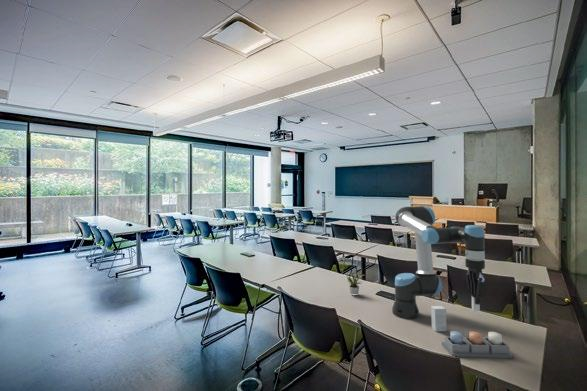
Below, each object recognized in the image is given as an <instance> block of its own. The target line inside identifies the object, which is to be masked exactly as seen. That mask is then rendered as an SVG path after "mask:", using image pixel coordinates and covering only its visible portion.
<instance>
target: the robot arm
mask: <svg viewBox="0 0 587 391" xmlns="http://www.w3.org/2000/svg"><path fill="white" fill-rule="evenodd" d="M435 214H436V213H435V211H434V210H433V209H432V208H431V207H429V206H423V205H421V206H404V207H401V208H399V209H398V210H397V211H396V213H395V221H396V223H397V224H398V225H399V226H401V227H404V228H407V229H409V230H411V231H412V232H414V238H415V250H416V253H415V254H416V261H417V262H416V263H417V270H416V271H415V274H414V273H411V272H403V273H398V274H397V275H396V276H394V303H393V305H392V307H391V309H392V310H391V311H392V312H391V313H392V314H393V315H395V316H396V317H399V318H402V319H409V320H410V319H412V320H413V319H417V318H419V316H420V310H419V307H418V304H417V301H416V300H417V297H427V296H429V297H432V296H438V295H439V294H440V293H441V292H442V289H443V282H442V280H441V277H440V276H439V275H438V274H437V272H436V271H435V270H434V263H433V261H434V260H433V253H432V252H433V251H432V245H435V244H437V245H438V244H463V245H465V248H464V249H465V252H464V254H465V267H466V268H468V269H467V270H464V272H465V276H466V283H467V290H468V293H470V296H471V310H472V311H473V312H480V309H481V307H480V306H481V305H480V302H481V301H480V300H481V299H480V298H483V297H484V294H485V286H486V281H487V277H484V275H483V270H484V269H485V268H486V261H485V259H486V255H485V254H486V252H485V246H486V245H485V244H486V243H485V238H486V237H485V236H486V234H485V228H484V226H482V225H476V224H467V225H465V226H464V227H462V226H461V227H460V226H451V227H436V226H434V224H435V223H436V222H435V221H436V215H435Z"/></svg>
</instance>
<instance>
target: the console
mask: <svg viewBox="0 0 587 391" xmlns="http://www.w3.org/2000/svg"><path fill="white" fill-rule="evenodd" d="M441 346H442V347H443V348H444V349H445V350H446V351H447V352H448V354H449V355H450V356H451V355H452V356H458V358H459V357H462V358H492V359H493V358H496V359H497V358H499V359H501V358H502V359H505V358H506V359H513V358H514V355H513V354H512V353H511V352H510V346H509V345H508V344H507V343H506V342H504V340H502V345H495V344H492V343H490V342H489V341H488V336H486V337H485V336H484V337H483V344H481V345H477V344H473V343H471V342H470V341H469V336H463V344H455V343H453V342H451V341H450V336H444V341H441ZM452 356H451V357H452Z"/></svg>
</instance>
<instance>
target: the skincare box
mask: <svg viewBox="0 0 587 391" xmlns="http://www.w3.org/2000/svg"><path fill="white" fill-rule="evenodd" d="M430 311H431V329H432V330H433V331H434V332H436V333H437V332H447V308H445V307H444V306H443V305H430Z"/></svg>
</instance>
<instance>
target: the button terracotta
mask: <svg viewBox="0 0 587 391" xmlns="http://www.w3.org/2000/svg"><path fill="white" fill-rule="evenodd" d="M468 337H469V341H470V342H471V343H473V344H477V345H481V344H483V334H482V333H481V332H478V331H473V330H472V331H471V330H470V331H468Z"/></svg>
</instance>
